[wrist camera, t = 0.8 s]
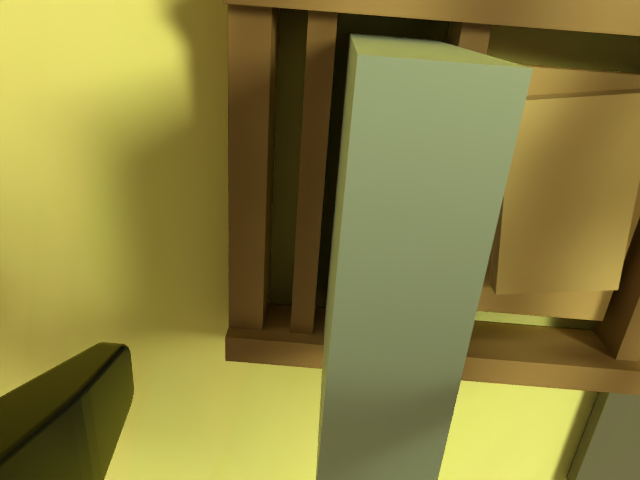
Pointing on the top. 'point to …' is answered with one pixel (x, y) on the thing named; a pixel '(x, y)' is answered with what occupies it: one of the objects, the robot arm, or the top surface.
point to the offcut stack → (568, 196)
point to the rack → (257, 187)
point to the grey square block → (410, 247)
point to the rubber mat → (610, 440)
